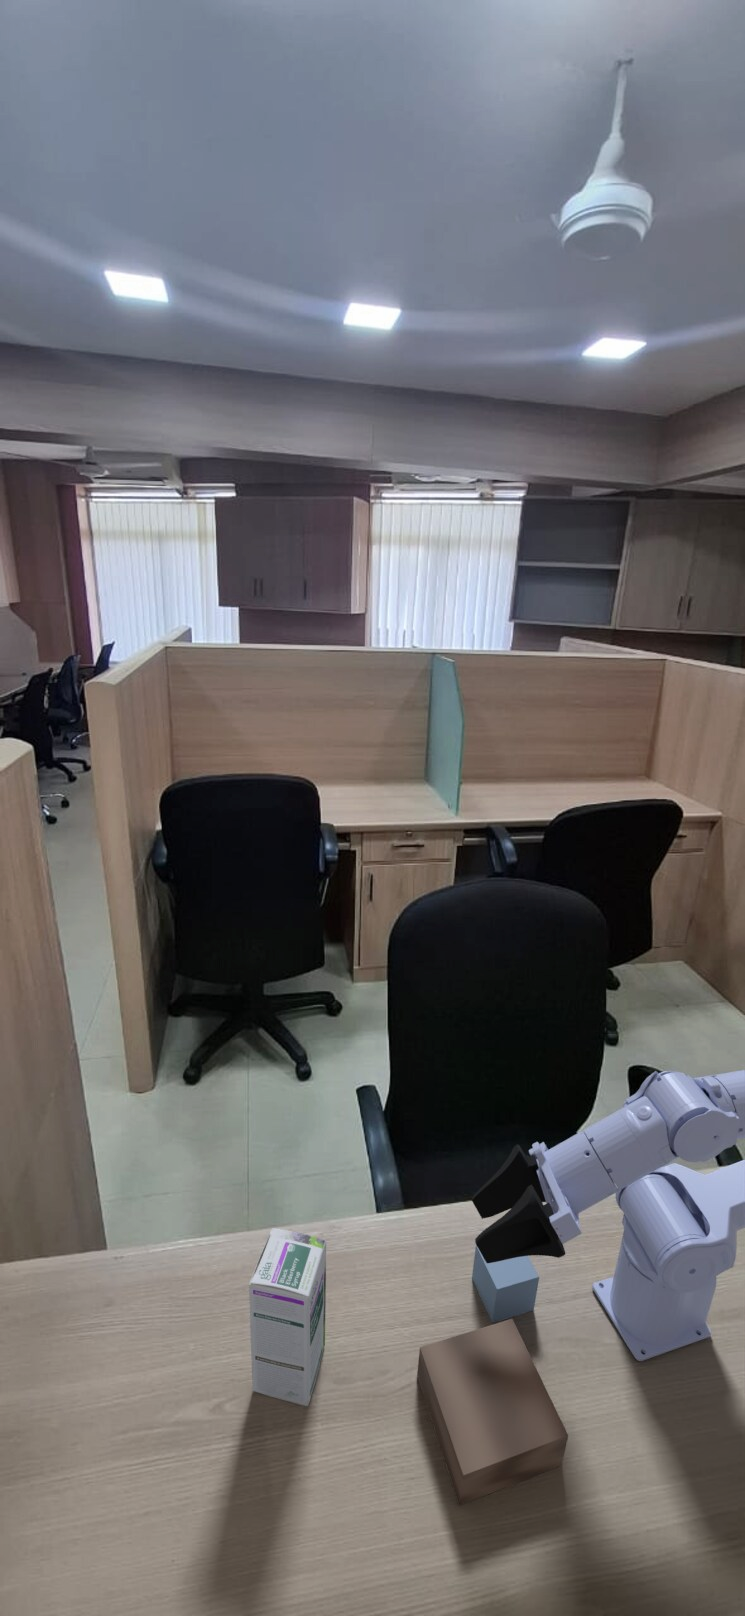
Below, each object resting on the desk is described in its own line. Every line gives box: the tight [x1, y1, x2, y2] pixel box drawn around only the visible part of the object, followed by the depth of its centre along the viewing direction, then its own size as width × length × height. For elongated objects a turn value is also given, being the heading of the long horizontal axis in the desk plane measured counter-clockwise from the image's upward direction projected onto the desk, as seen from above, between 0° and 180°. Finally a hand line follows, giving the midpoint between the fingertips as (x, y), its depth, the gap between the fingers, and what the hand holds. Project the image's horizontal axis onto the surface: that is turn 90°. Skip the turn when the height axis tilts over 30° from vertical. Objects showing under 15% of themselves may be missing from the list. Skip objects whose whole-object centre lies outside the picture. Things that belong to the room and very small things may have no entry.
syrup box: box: [248, 1227, 327, 1407], centre depth 62 cm, size 6×6×14 cm
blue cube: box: [471, 1244, 540, 1324], centre depth 71 cm, size 5×5×5 cm
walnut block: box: [416, 1318, 569, 1506], centre depth 60 cm, size 10×10×4 cm
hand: (478, 1228), depth 63 cm, fingers open, 7 cm apart
